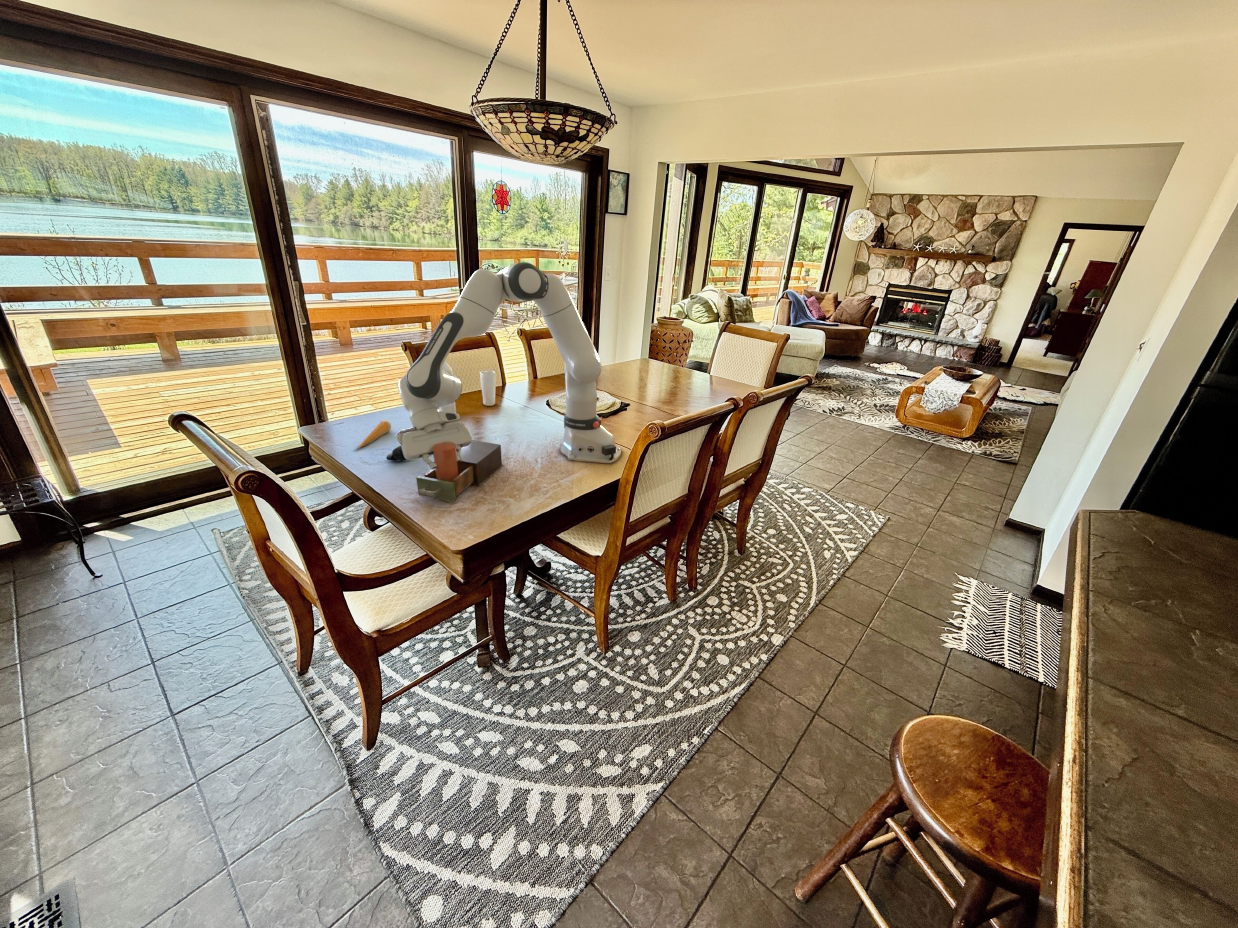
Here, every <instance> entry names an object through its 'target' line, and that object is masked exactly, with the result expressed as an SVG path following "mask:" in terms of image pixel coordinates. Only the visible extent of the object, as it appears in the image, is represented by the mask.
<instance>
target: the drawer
mask: <svg viewBox="0 0 1238 928" xmlns="http://www.w3.org/2000/svg"><path fill="white" fill-rule="evenodd" d="M458 473H459V475H458V476H457V477H456V478H454V479H453V480H452V482H449V481H444V480H438V479H436V472H435V469H432V470H431V469H430V470H429V471H427V472H426V473H424V475H423V476H422V475H418V476H416V477H415V479H416V486H417V494H418V496H422V497H426V498H431V499H437V500H442V501H445V502H451V503H455V501H457V496H459V495H460V494H461V493H462V492H463V491H464V490H465V489H467V488H468V487H470V485H471V483H473V482H474V481H475V468H474V465H468V464H463V463H458Z"/></svg>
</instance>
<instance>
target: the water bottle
mask: <svg viewBox="0 0 1238 928" xmlns="http://www.w3.org/2000/svg"><path fill="white" fill-rule="evenodd" d="M442 369H443V370H445V371H448V372H450V373H452V374H454V373H453V369H452V367H451V365H450V364H449V363H448V361H447V359H446V360H445V361H444V363H443V365H442ZM456 405H457V404H456V401H454V402H452V403H450V404H448V405H445V406H441V407H439V410H440V411H441V412H447V413H457V407H456Z"/></svg>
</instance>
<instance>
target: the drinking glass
mask: <svg viewBox="0 0 1238 928" xmlns="http://www.w3.org/2000/svg"><path fill="white" fill-rule="evenodd" d="M479 383H480V389H481V395H482V403H483V405H484V406H487V407H491V406H494V405H496V390H497V389H496V388H497V387H496V386H497V376H496V371H495V370H489V369H488V370H486V369H485V370H481V371H479Z"/></svg>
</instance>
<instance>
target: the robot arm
mask: <svg viewBox="0 0 1238 928" xmlns="http://www.w3.org/2000/svg"><path fill="white" fill-rule="evenodd" d="M504 301H505V302H509V303H524V302H527V301H528V302H529V301H532V302H534V303H535V304H536V306H537V307H538V309H539V311H540V314H541V316H542V319H543V320H544V322H545V324H546V326H547V329H548V330H549V332H550V335H551V337H552V339H553V340H554V342H555V345H556V347H557V349H558V351H559V353H560V355H561V358H562V359H563V361H564V386H565V413H564V414H563V415H564V417H563V428H564V433H563V439H562V443H561V447H560V452H561V453H562V454H563V455H564V456H566V457H567V459H568V460H569V461H577V462H589V463H600V464H601V463H602V464H613V463H614V462H616V461H617V460H619V458H620V457H621V455H622V450H621V449H622V448H621V447H619V446H618V445H616V439H615V437H614V435H613V434H612V433H611V432H609V431H608V430H607V429H606V428H605V427H604V426H602V421H603V416H598V415H597V404H598V400H597V399H598V391H597V380H598V379H599V378H600V377H601V373H602V369H603V368H602V367H603V366H602V361H601V358H600V356H599V354H598V352H597V349H596V347H595V346H594V343H593V341H592V340H591V337H590V335H589V333H588V331H587V329H586V327H585V325H584V323H583V321H582V318H581V316H580V314H579V311H578V309H577V307H576V305H575V302H574V299H573V298H572V296H571V294H570V292H569V290H568V289H567V286H566V285H565V283H564V282H563V280H561V278H560V276H558V274H555V273H552V272H549V273H544V272H543V271H541V270H540V268H539V267H537V266H536V265H534V264H532V263H531V262H527V261H521V262H515V263H510V264H509V265H508V266H503V267H502V268H500V269H499V270H497V271H496V272H494V271H492V270H489V269H485V268H480V269H477V270H475V271H474V272H473V273H472V275H471V276H470V277H469V279H468V280H467V282H466V284H465V285H464V287H463V290H462V291H461V294H460V295H459V298H458V300H457V301H456V303H455V305H454V307H453V308H452V310H451V311H450V312H449V313H447V314H446V315H444V316H443V317H442V319H441V320H440V322H439V324H438V325H437V326H436V328H435V330H434V331H433V334H432V335H431V337H430V338H429V340H428V342H427V344H426V345H425V347H424V348H423V350H422V352H421V353H420V355H419V356H418V358H416V359H415V360H414V362H413V363H412V364H411V365H410V366H409V368H408V369H407V372H406V374H404V375H403V376H402V377H400V379H399V381H398V384H397V388H398V389H397V390H398V393H399V397H400V400H401V401H402V404H403V407H404V408H405V411H407V412H408V415H409V420H410V422H411V425H412V427H408V428H405V429H404V428H403V429H400V430H399V431H398V432H396V435H395V438H396V440H397V442H398V444H400V446H401V448H402V451H403V455H404V457H405V459H407V461H413V460H417V459H422V461H423V462H424V463H425V464H427V465H428V467H429V469H430V471H431V470H432V469H436V468H437V464H436V462H435V461H434V460H431V459H430V458H429V457H431V456H434V454H433V445H434V444H438V443H442V442H452V443H455V444H456V452H457V462H461V461H462V458H461V455H460V454H461V447H465V446H468V445H469V444H470V443H471V441H472V440H473V437H472V434H471V432H470V430H469V428H468V427H467V425H466V424H465V423H464V422H463V421H461V417H460V414H459V413H457V412H456V413H447V412H441V411H440V410H439V407H441V406H445V405H448V404H450V403H452V402H454V401H455V402H456V401H457V400H459V398H460V397H461V395H462V392H463V384H462V381H461V379H460V377H459V376H457V375H456V374H454V373H453V374H452V373H450V372H448V371H445V370H443V369H442V365H443V363H444V361H445V360H446V361H447V359H448V357H449V354H450V353H451V351H452V349H453V348H454V346H455V344H456V343H457V342H458V341H460V340H461V339H464V338H473V337H475V338H476V337H479V336H483V335H484V334H486V333H487V331H489V329H490V327H491V325H492V323H493V321H494V319H495V316H496V315H497V312H498V310H499V307H500V305H501V304H502V302H504Z"/></svg>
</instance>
